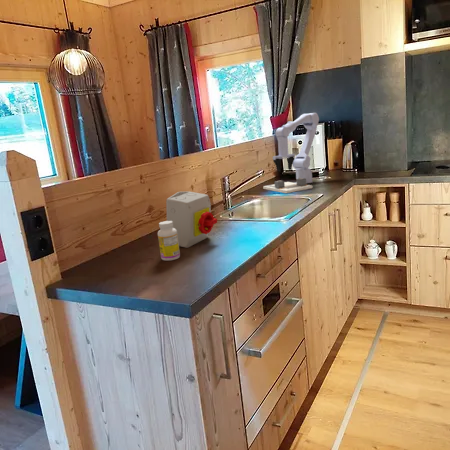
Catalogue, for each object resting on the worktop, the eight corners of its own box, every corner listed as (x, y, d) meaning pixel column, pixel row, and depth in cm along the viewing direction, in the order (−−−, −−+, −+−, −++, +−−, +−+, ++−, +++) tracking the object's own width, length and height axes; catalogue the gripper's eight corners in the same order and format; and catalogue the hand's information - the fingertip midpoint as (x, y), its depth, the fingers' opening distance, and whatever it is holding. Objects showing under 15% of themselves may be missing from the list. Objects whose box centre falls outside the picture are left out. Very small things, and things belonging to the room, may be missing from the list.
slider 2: (302, 183, 259) (301, 177, 258) (306, 184, 255) (306, 178, 254) (296, 184, 257) (296, 178, 256) (300, 185, 253) (300, 179, 252)
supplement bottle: (161, 256, 153) (156, 221, 150) (180, 254, 153) (175, 219, 150) (160, 262, 146) (155, 225, 143) (180, 259, 147) (175, 223, 144)
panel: (287, 184, 275) (287, 181, 274) (312, 188, 252) (312, 185, 251) (263, 188, 268) (263, 186, 267) (286, 193, 245) (286, 190, 244)
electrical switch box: (199, 255, 157) (199, 202, 151) (167, 246, 164) (166, 195, 158) (220, 243, 169) (221, 193, 163) (190, 235, 176) (189, 188, 170)
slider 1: (281, 186, 258) (280, 179, 257) (284, 186, 255) (284, 180, 254) (274, 187, 257) (274, 180, 256) (278, 188, 253) (277, 181, 252)
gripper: (289, 146, 265) (290, 168, 268) (269, 149, 259) (270, 171, 262) (296, 146, 258) (297, 169, 262) (275, 149, 253) (277, 172, 256)
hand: (284, 170), depth 261 cm, fingers open, 7 cm apart
